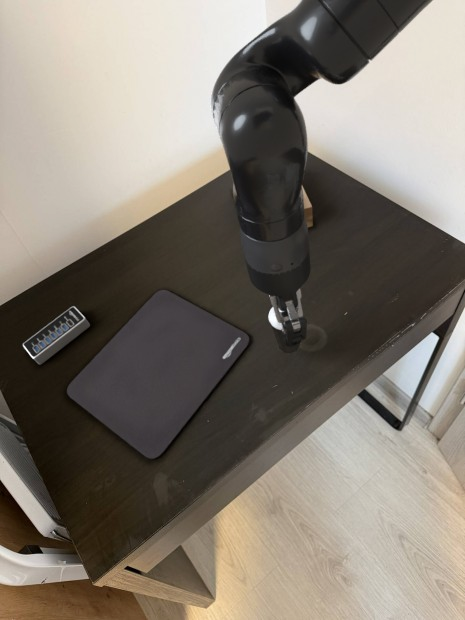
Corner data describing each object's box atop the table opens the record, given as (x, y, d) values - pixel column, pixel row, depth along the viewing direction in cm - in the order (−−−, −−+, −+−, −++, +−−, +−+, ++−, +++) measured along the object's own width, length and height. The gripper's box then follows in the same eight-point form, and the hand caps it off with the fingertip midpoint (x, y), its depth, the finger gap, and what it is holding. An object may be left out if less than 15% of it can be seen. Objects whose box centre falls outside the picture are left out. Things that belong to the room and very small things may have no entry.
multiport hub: (28, 350, 84) (21, 344, 82) (78, 312, 87) (73, 305, 86) (39, 365, 82) (32, 359, 80) (91, 325, 85) (85, 318, 83)
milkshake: (292, 366, 70) (287, 331, 62) (268, 344, 73) (260, 308, 65) (314, 347, 71) (312, 310, 63) (289, 326, 74) (284, 288, 66)
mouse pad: (154, 464, 68) (154, 463, 68) (62, 391, 78) (62, 391, 78) (253, 337, 78) (253, 337, 78) (161, 287, 87) (161, 286, 87)
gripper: (328, 284, 50) (329, 361, 63) (289, 197, 58) (298, 282, 72) (259, 303, 50) (275, 377, 63) (231, 214, 58) (251, 295, 72)
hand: (287, 326), depth 68 cm, fingers closed on milkshake, 5 cm apart
